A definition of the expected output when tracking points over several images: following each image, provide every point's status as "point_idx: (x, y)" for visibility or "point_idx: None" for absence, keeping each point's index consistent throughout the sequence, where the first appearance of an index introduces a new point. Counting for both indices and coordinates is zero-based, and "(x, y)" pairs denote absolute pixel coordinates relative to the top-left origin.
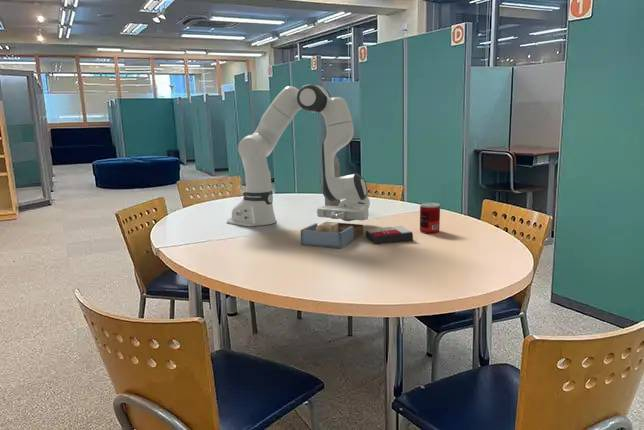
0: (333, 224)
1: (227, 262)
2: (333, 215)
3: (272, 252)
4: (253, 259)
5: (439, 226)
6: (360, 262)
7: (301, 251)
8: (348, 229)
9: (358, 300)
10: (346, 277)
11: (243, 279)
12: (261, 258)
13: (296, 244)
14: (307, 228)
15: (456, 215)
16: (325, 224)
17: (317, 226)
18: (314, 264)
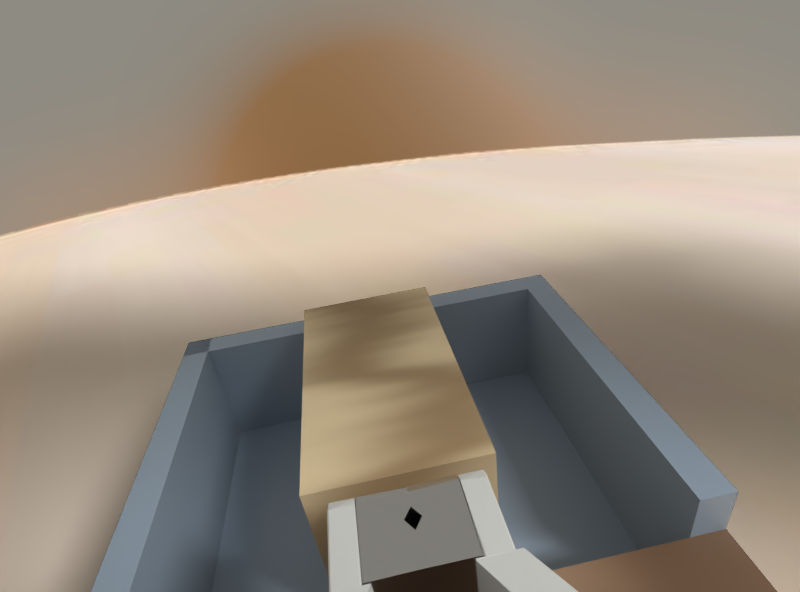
0: (320, 406)
1: (542, 178)
2: (423, 484)
3: (528, 253)
4: (505, 207)
5: None
6: (76, 341)
7: None
8: (136, 483)
9: (85, 219)
10: (126, 255)
11: (388, 172)
12: (492, 218)
13: None
14: (554, 324)
15: None
16: (407, 368)
17: (424, 300)
18: (269, 262)
